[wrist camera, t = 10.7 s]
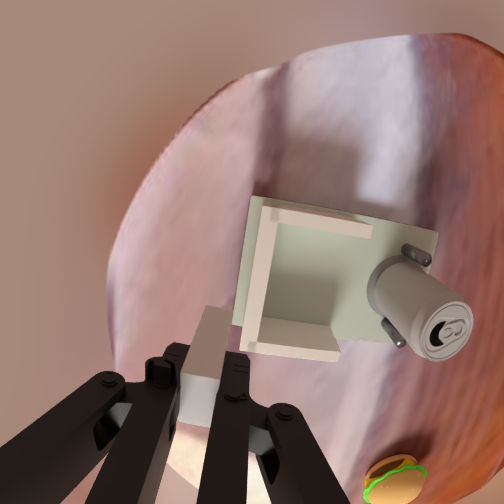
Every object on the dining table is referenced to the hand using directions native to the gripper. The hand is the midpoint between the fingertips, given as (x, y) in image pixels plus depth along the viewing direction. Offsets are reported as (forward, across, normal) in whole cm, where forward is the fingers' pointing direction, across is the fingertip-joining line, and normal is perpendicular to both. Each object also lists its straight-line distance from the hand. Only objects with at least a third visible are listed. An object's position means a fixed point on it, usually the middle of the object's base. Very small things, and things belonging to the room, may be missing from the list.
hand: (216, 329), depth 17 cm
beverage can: (+16, -19, 0) cm, 25 cm away
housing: (+16, -7, 0) cm, 17 cm away
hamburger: (+17, -33, +35) cm, 51 cm away
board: (+18, -12, 0) cm, 21 cm away
